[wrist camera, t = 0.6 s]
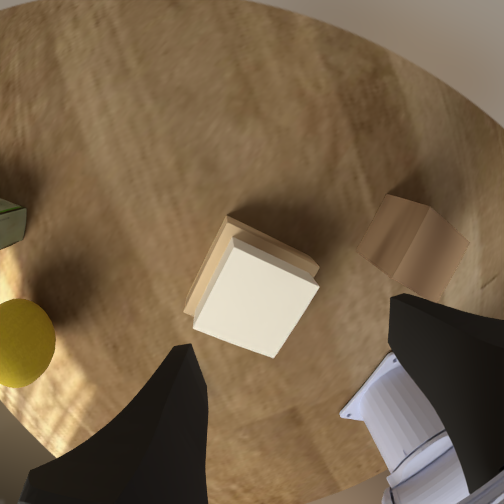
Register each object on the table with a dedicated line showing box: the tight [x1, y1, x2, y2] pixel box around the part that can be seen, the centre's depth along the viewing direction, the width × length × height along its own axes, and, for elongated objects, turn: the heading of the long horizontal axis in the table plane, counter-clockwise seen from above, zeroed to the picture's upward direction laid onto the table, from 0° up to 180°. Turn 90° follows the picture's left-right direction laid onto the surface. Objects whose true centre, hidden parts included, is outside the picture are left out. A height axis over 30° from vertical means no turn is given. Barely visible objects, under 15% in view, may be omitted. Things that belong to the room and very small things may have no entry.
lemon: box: [0, 299, 56, 388], centre depth 15 cm, size 6×6×8 cm
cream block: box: [193, 237, 319, 358], centre depth 16 cm, size 5×5×2 cm
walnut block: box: [356, 194, 470, 303], centre depth 17 cm, size 4×4×5 cm
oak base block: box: [184, 215, 320, 316], centre depth 19 cm, size 6×6×2 cm
